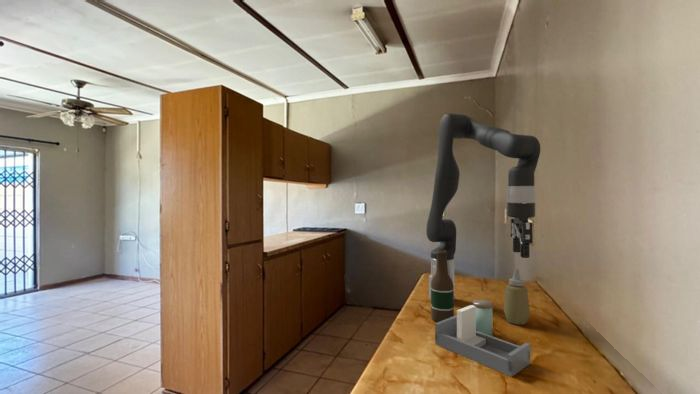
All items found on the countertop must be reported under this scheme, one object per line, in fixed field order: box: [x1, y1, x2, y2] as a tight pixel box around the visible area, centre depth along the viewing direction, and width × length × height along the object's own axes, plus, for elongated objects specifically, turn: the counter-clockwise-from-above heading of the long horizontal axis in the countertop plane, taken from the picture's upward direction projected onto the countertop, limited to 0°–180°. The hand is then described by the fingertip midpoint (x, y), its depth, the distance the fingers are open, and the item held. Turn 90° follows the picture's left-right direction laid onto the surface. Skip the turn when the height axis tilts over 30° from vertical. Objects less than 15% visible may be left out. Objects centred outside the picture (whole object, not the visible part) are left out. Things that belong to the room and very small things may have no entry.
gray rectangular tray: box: [434, 314, 531, 378], centre depth 89 cm, size 22×10×6 cm, turn 38°
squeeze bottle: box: [503, 268, 531, 326], centre depth 111 cm, size 8×8×18 cm
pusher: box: [456, 304, 486, 348], centre depth 91 cm, size 4×7×10 cm, turn 128°
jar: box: [472, 298, 494, 337], centre depth 101 cm, size 6×6×10 cm
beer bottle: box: [430, 250, 455, 323], centre depth 113 cm, size 8×8×24 cm
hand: (520, 254), depth 99 cm, fingers open, 8 cm apart
